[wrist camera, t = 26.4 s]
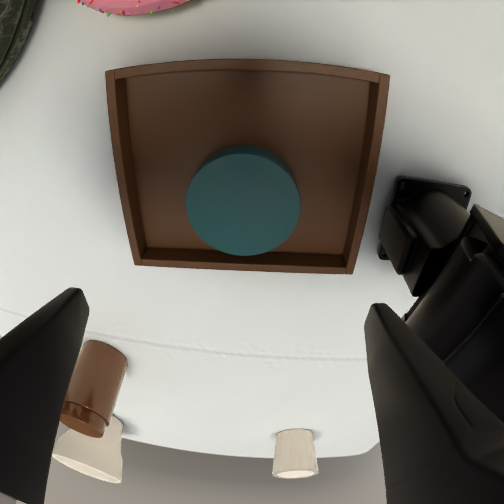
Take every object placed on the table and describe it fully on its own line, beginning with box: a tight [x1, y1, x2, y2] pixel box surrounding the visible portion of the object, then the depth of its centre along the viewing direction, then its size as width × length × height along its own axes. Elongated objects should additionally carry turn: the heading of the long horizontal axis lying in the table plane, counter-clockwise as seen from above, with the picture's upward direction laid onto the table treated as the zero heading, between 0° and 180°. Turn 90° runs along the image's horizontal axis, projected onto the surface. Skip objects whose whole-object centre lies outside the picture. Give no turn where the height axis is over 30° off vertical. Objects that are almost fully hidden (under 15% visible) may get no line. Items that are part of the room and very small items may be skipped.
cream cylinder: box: [272, 429, 318, 479], centre depth 39 cm, size 7×7×7 cm
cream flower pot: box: [52, 415, 123, 483], centre depth 39 cm, size 12×12×11 cm
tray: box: [105, 59, 390, 274], centre depth 18 cm, size 15×13×2 cm
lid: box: [186, 145, 301, 256], centre depth 19 cm, size 7×7×2 cm
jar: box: [60, 341, 128, 438], centre depth 28 cm, size 6×6×10 cm
